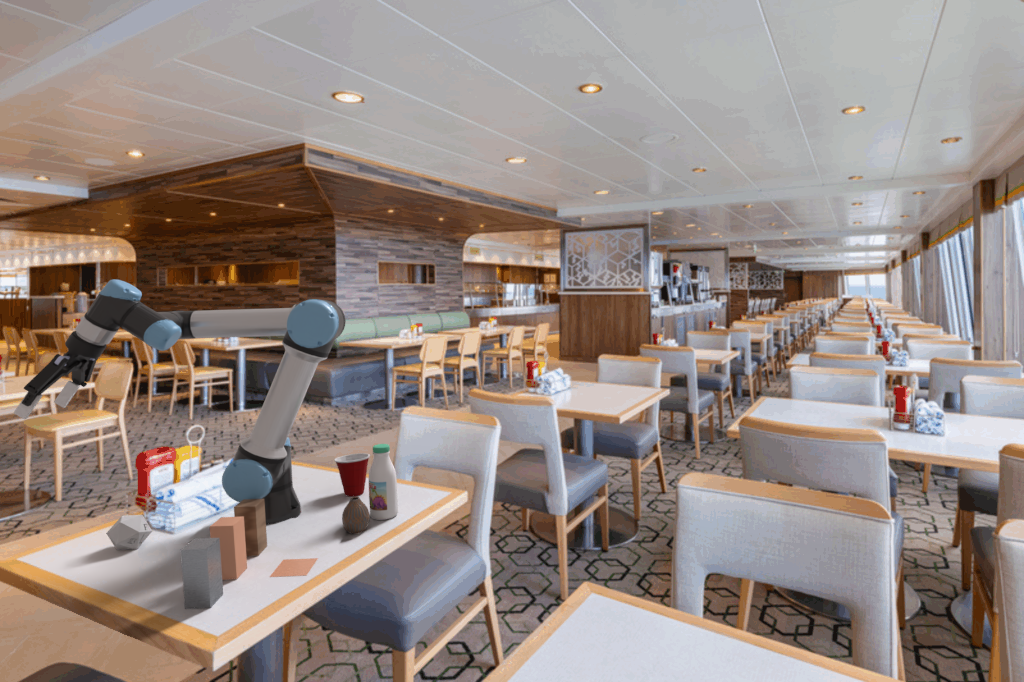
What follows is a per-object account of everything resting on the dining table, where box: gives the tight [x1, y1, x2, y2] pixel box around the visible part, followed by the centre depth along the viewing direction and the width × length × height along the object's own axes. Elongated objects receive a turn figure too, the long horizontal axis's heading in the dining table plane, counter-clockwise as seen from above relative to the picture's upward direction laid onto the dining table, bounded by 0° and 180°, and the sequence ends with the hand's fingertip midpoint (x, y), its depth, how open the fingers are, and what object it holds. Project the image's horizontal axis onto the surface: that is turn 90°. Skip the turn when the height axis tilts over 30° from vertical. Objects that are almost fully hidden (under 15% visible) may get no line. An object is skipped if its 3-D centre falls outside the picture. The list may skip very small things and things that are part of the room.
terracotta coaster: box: [269, 557, 319, 578], centre depth 124 cm, size 8×8×1 cm
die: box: [106, 514, 153, 551], centre depth 139 cm, size 8×9×10 cm
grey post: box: [180, 537, 224, 610], centre depth 110 cm, size 5×5×12 cm
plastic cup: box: [333, 453, 371, 498], centre depth 173 cm, size 11×11×12 cm
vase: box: [341, 496, 370, 535], centre depth 145 cm, size 7×7×9 cm
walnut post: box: [233, 499, 268, 557], centre depth 132 cm, size 5×5×12 cm
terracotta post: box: [209, 516, 248, 581], centre depth 121 cm, size 5×5×12 cm
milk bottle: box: [368, 443, 399, 521], centre depth 154 cm, size 8×8×20 cm
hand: (40, 410), depth 134 cm, fingers open, 13 cm apart
